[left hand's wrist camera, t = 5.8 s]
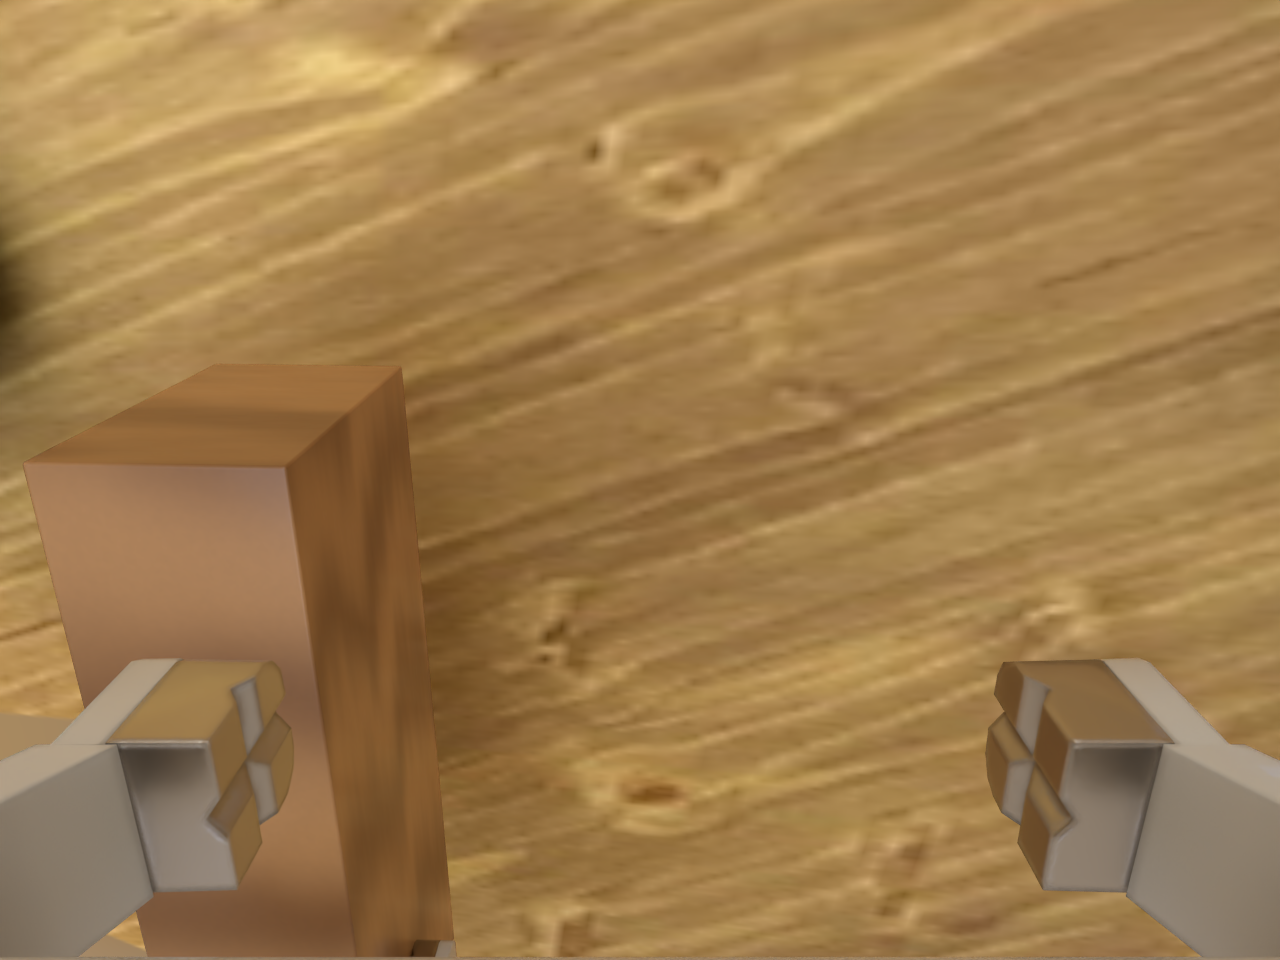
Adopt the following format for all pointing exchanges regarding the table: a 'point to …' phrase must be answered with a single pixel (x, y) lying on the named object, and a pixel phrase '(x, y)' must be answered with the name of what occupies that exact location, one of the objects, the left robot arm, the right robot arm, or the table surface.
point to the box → (272, 633)
